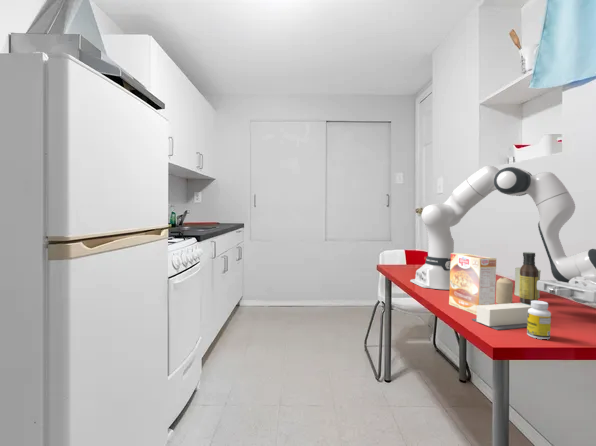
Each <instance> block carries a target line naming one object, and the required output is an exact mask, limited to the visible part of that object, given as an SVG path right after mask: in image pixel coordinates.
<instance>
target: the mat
mask: <svg viewBox="0 0 596 446" xmlns="http://www.w3.org/2000/svg"><path fill="white" fill-rule="evenodd" d="M471 321H473V322H476V323H478V324H480V325H483V326H485V327H488V328H491V329H494V330H497V331H503V330H504V331H505V330H514V329H525V328H526V329H527V323H523V324H511V325H499V326H487V325H485V324H482V323H479V322H477V318H471Z"/></svg>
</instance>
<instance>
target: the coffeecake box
mask: <svg viewBox="0 0 596 446" xmlns="http://www.w3.org/2000/svg"><path fill="white" fill-rule="evenodd" d="M496 277H497V257H495V258H494V257H489V256H483V255H478V254H473V253H472V254H471V253H465V252H462V253H461V252H460V253H459V252H454V253H451V263H450V290H449V295H448V297H449V299H448V305H450V306H452V307H454V308H457V309H460V310H462V311H464V312H467V313H470V314H473V315H475V316H477V305H493V304H496V281H497V279H496Z"/></svg>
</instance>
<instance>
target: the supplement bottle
mask: <svg viewBox="0 0 596 446" xmlns="http://www.w3.org/2000/svg"><path fill="white" fill-rule="evenodd" d="M530 305H531V306H532V308H530V309H528V319H527V328H526V335H528V337H531V338H532V339H536V338H537V340H542V339H547V340H549V339H550V338H551V322H552V313H551V311H550V310H549V302H547V301H543V300H538V301H537V300H533V301H531V304H530Z"/></svg>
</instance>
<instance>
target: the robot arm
mask: <svg viewBox="0 0 596 446" xmlns="http://www.w3.org/2000/svg"><path fill="white" fill-rule="evenodd" d="M494 191H498V192H500V193H501V194H504V195H507V196H512V197H513V196H516V197H521V196H525V195H528V196H530V198H532V199H531V200H533V202H534V204H535V205H536V208H537V211H538V213H539V221H538V223H537V226H538V227H537V228H538V232H539V235H540V238H541V241H542V243H543V246H544V249H545V252H546V255H547V258H548V260H549V265H550V270H551V274H552V276H553V278H554V279H555V280H554V279H553V280H551V279H540V280H538V281H537V290H539V292H544V293H548V294H551V295H555V296H562V297H567V298H571V299H572V300H573V301H574V302H576V303H579V304H596V248H591V249H587V250H584V251H580V252H578V253H575V254H573V255H569V256H567V255H566V253H565V250H564V248H563V245H562V242H561V239H560V235H559V234H560V232H561V229H562V227H564V225H566V223H567V222H568V221H569V220H571V218H572V217H573V215H574V213H575V210H576V203H575V200H574V198H573V196H572V195H571V194H570V192H569V190H568V188H567V187H566V186H565V184H564V183H563V182H562V181H561V180H560V178H559V177H558V176H556V174H555V173H553V172H551V171H542V172H539V173H536V174H533V175H532V174H531V173H530V171H529V172H528V171H527V170H525V169H522V168H518V167H515V166H510V167H509V166H508V167H504V168H502V169H498V168H497V167H496V166H494V165H490V164H489V165H485V166H482V167H481V168H480V169H478V170H477V171H475V172H473V173H472V174H471V175H469V176H468V177H466V179H465V180H464V181H462V182H461V183H460V184H459V185H457V186H456V187H455V188H454V189H453V190H452V192H451V194H450V195H449V197H448V198H447V200H445V201H444V202H442V203H431V204H429V205H426V206H424V208H423V209H422V211H421V215H420V216H421V220H422V222H423V223H424V225H425V228H426V233H427V241H428V243H427V245H428V247H427V249H428V250H427V256H424V259H425V261H424V262H425V263H424V264H423V265H422V266H420V267H419V268H418V269H416V271H415V278H411V279H410V281H409V282H410V283H413V284H414V285H417V286H419V287H421V288H424V289H426V288H428V289H432V290H433V289H436V290H449V291H450V263H451V253H455V252H454V251H455V250H454V249H455V239H454V238H453V236H452V234H451V233H452V232H451V228H452V227H454V226H456V225H458V224H459V223H460V222H461V220H462V219H463V218H464V217H465V216H466V214H467V213H468V212H470V210H471V209H472V208H473V207H475V206H476V205H477V204H478V203H480V202H481V201H482V200H484V199H485V198H486V197H487V196H488V195H490V194H491V193H493V192H494Z"/></svg>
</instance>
